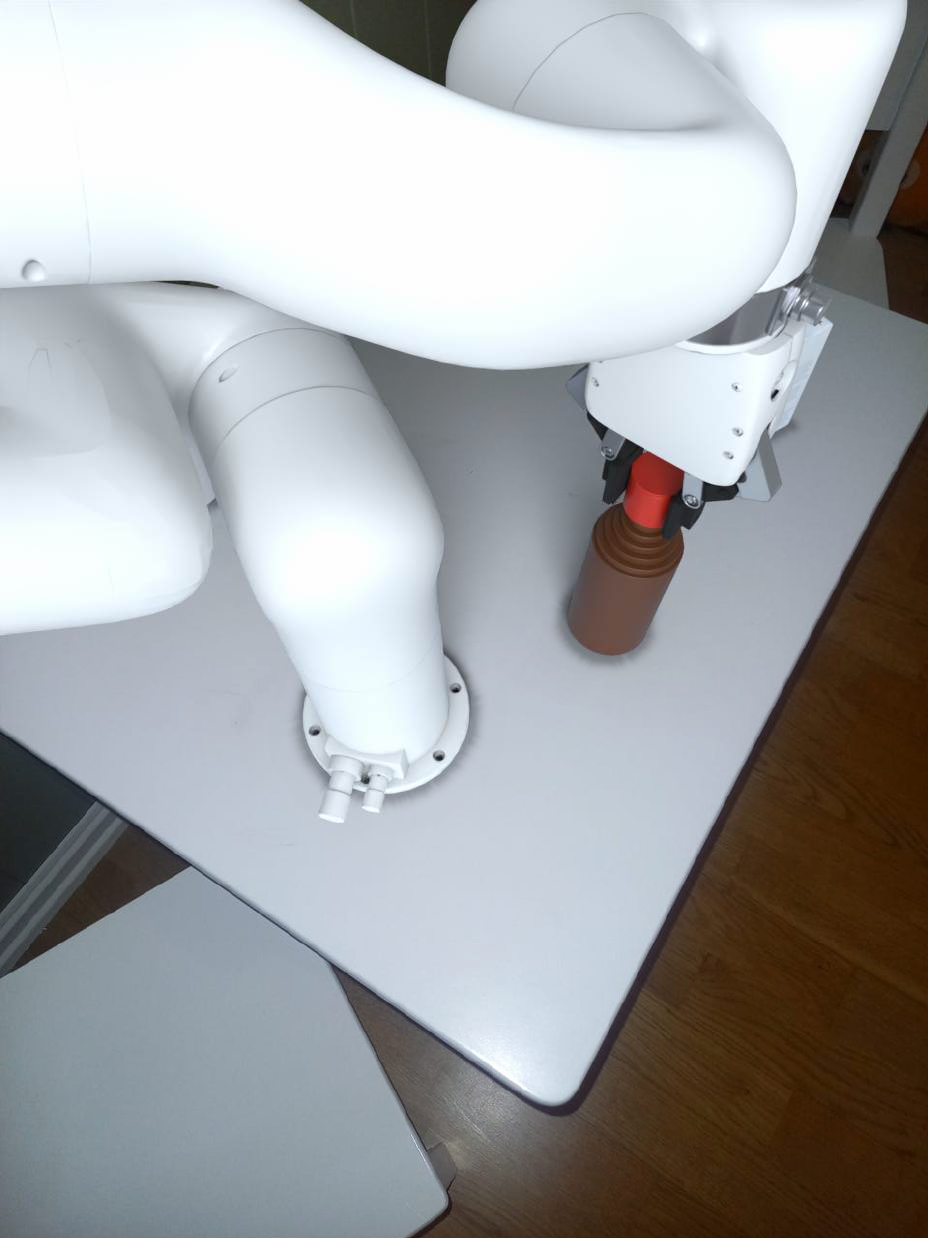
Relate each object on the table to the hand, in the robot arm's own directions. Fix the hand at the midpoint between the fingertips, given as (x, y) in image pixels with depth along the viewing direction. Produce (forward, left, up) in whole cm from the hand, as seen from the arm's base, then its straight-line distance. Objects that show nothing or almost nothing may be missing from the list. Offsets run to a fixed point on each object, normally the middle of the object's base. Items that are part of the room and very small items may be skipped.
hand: (648, 504), depth 55 cm
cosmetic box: (+22, -9, -16) cm, 28 cm away
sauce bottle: (-1, +1, -15) cm, 15 cm away
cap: (0, 0, -1) cm, 1 cm away
